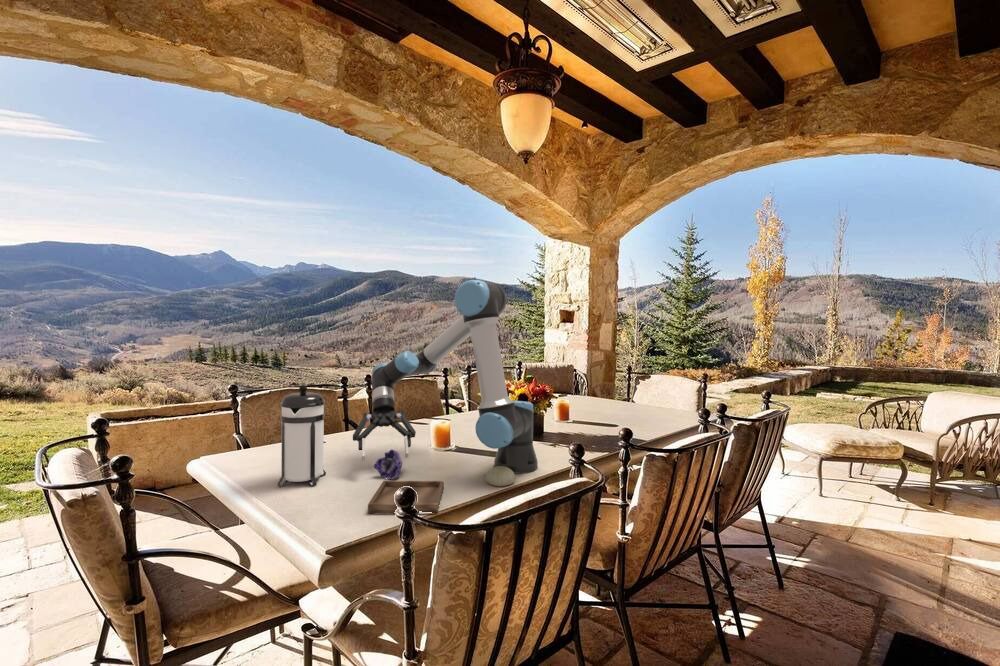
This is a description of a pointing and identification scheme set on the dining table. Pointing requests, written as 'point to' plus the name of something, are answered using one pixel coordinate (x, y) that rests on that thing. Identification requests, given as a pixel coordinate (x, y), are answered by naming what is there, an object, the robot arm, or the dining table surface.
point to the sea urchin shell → (500, 476)
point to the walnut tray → (425, 490)
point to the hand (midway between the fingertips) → (385, 457)
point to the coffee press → (302, 437)
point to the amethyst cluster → (389, 465)
